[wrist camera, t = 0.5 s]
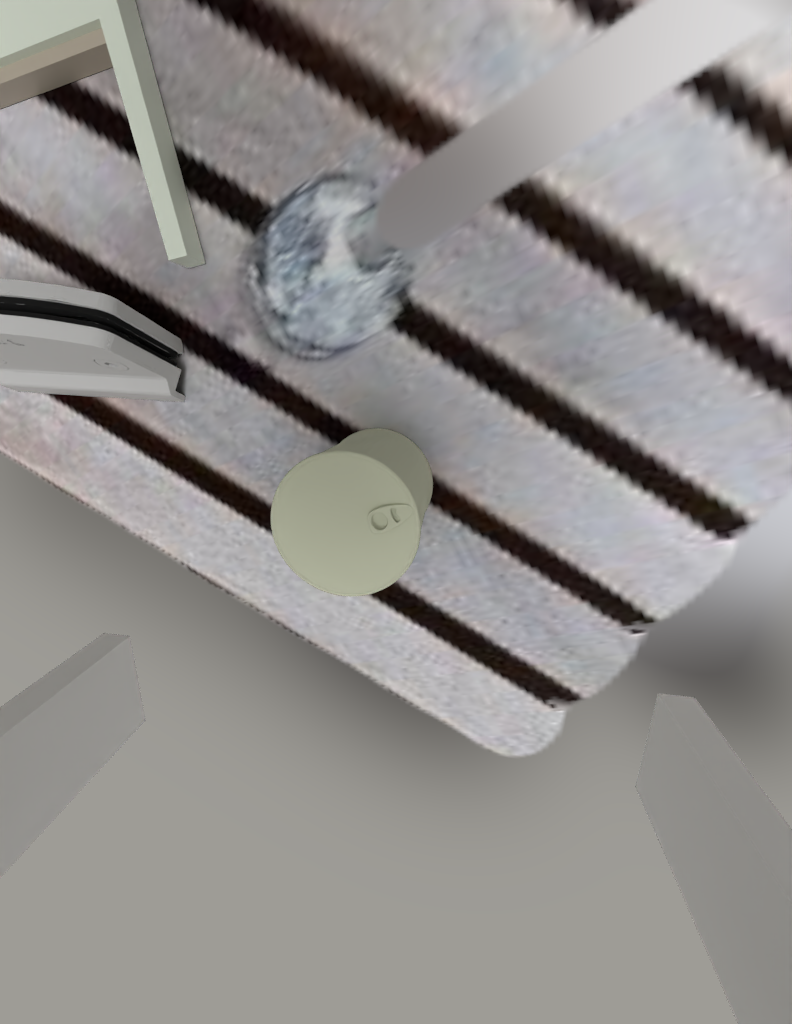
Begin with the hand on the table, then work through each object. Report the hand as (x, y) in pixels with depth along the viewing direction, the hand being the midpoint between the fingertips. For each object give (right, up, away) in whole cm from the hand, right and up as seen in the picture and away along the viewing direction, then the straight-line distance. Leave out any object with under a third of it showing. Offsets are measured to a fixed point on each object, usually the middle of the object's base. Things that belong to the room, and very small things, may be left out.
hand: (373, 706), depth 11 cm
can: (-1, +7, +26) cm, 27 cm away
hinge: (-25, +19, +26) cm, 41 cm away
